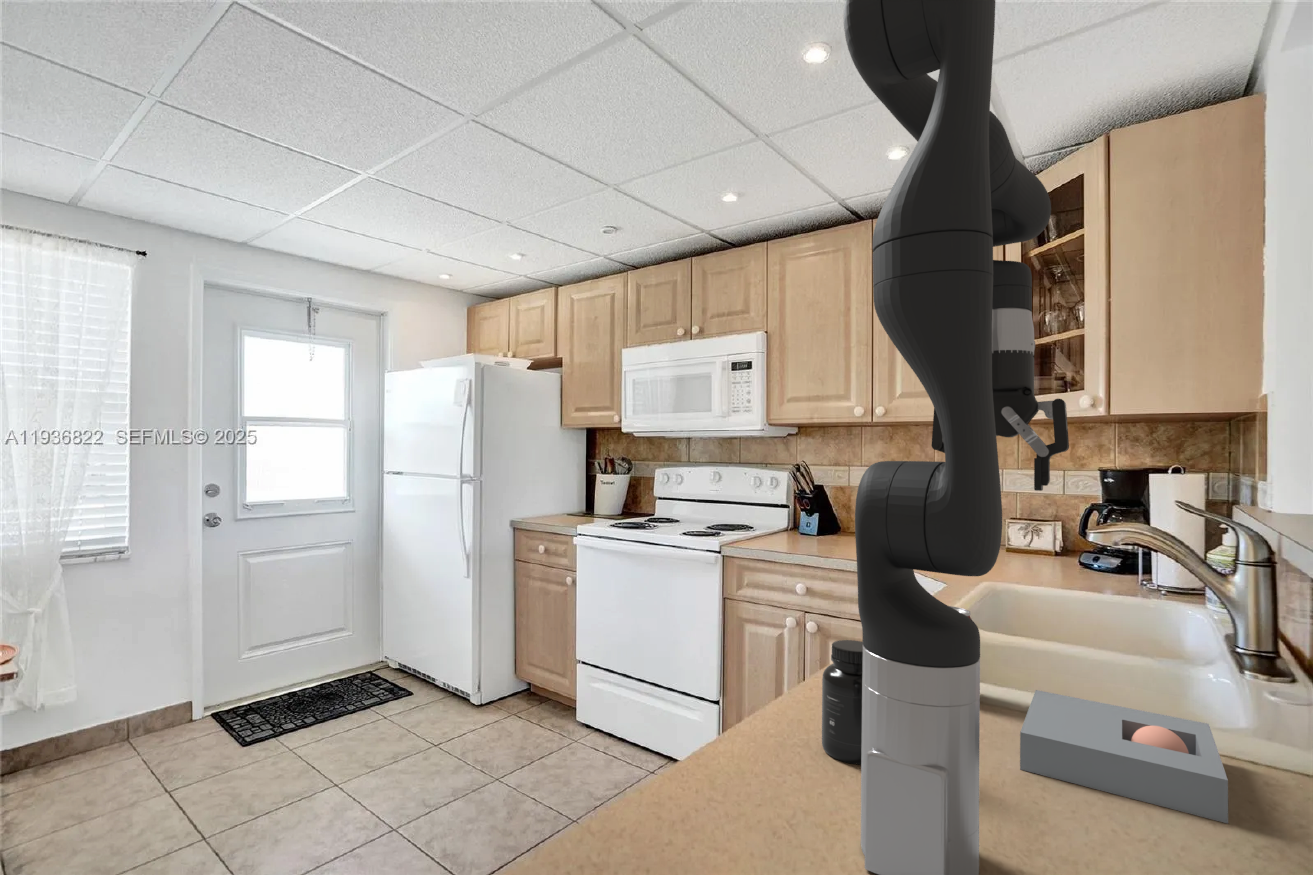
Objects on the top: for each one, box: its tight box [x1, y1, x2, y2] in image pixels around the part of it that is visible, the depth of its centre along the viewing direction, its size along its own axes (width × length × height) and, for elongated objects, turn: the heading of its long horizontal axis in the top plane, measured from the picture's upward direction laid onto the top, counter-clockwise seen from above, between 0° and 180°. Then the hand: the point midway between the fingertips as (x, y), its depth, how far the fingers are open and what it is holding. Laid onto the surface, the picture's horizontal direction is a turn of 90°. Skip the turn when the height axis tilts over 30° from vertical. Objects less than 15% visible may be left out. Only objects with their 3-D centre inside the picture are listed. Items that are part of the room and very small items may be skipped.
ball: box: [1131, 726, 1189, 754], centre depth 70 cm, size 5×5×5 cm
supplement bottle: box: [821, 639, 863, 765], centre depth 74 cm, size 7×7×12 cm
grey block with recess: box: [1019, 689, 1229, 824], centre depth 72 cm, size 16×17×4 cm
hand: (997, 488), depth 77 cm, fingers open, 8 cm apart
